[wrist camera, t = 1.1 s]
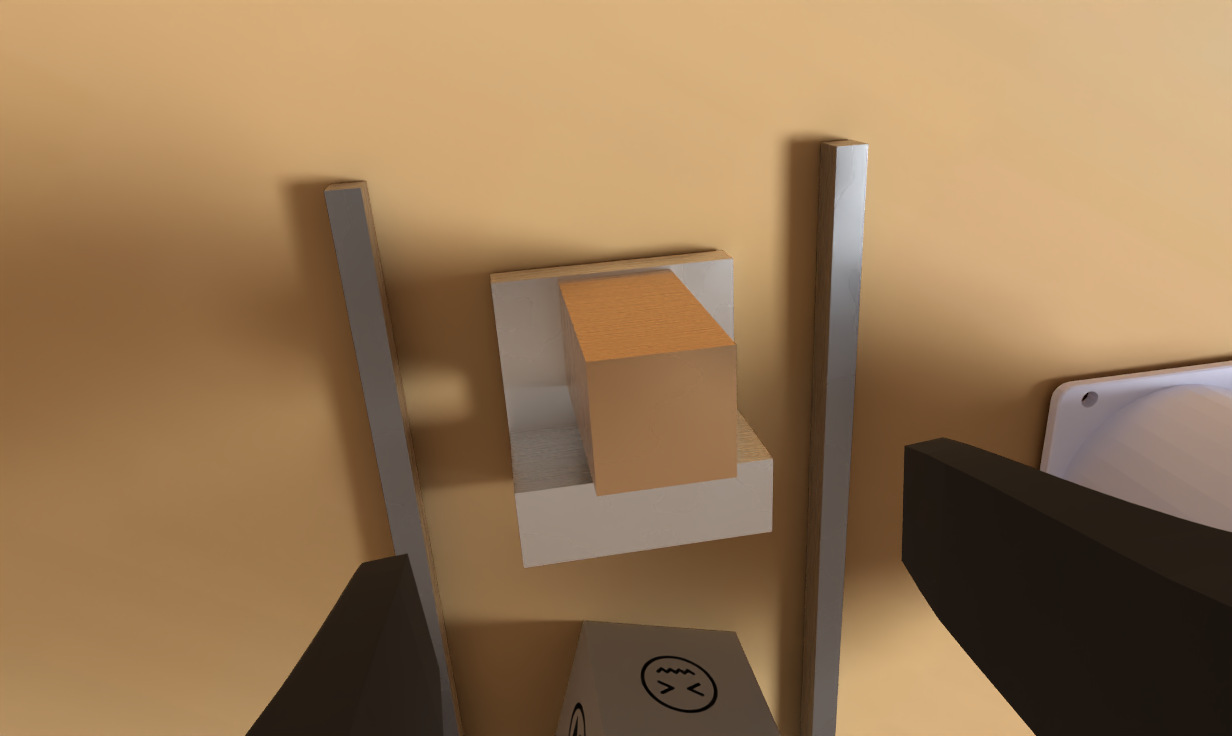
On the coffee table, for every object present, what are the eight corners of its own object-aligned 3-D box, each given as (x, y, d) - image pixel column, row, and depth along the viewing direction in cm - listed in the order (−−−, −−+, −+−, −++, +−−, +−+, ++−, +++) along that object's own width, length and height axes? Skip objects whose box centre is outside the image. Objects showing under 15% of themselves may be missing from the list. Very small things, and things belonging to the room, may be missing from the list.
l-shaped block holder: (722, 250, 21) (819, 329, 15) (725, 454, 23) (809, 593, 17) (490, 273, 20) (495, 367, 14) (516, 482, 22) (530, 637, 17)
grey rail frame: (850, 139, 20) (959, 166, 16) (818, 818, 30) (880, 960, 25) (331, 183, 19) (284, 227, 14) (466, 886, 28) (465, 1051, 23)
